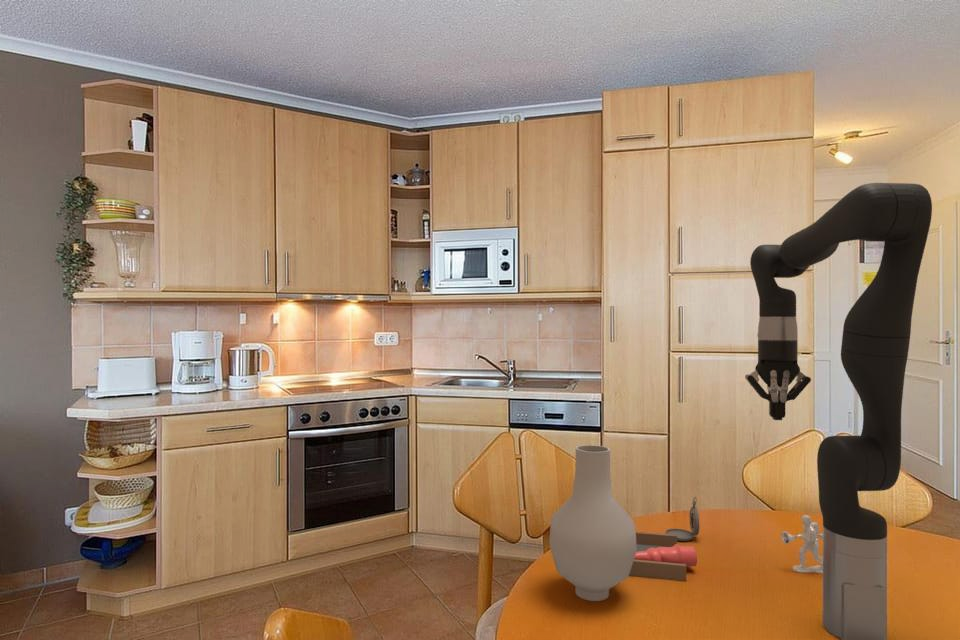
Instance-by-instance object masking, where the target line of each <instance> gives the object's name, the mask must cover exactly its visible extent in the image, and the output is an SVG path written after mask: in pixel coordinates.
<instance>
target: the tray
mask: <svg viewBox="0 0 960 640" xmlns="http://www.w3.org/2000/svg"><path fill="white" fill-rule="evenodd" d="M675 544H678V540H677V535H673V534H665V533H660V532H659V533H658V532H647V531H645V532H644V531H636V546H637V551H636V552H639V551H646V550H648V549H649V548H657V547H673V546H674V545H675ZM629 576H632V577H640V578H641V577H643V578H654V579H665V580H674V581H683V582H687V566H686V564H679V563H668V562H657V561H646V560H635V559H634V561H633V564H632V567H631V570H630V574H629Z"/></svg>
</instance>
